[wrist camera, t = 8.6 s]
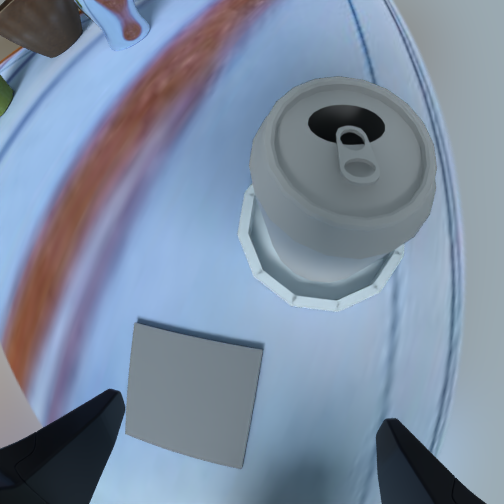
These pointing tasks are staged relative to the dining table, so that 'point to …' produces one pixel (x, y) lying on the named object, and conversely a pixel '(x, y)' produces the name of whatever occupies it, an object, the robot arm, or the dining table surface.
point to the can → (341, 176)
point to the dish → (295, 286)
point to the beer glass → (116, 21)
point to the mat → (191, 394)
